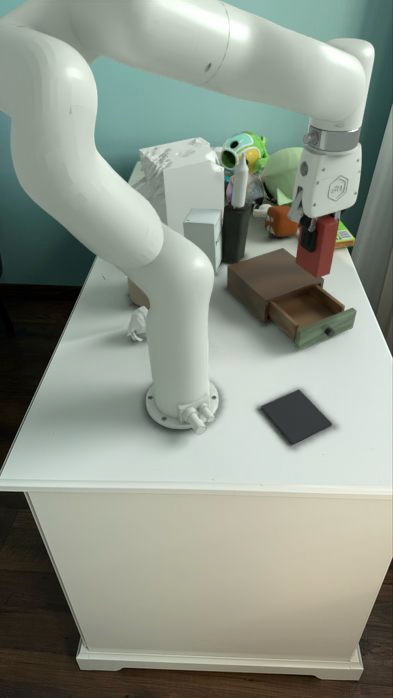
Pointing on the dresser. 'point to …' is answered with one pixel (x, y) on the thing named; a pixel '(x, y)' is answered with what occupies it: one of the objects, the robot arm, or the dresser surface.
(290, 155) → the toy
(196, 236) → the white packaging box
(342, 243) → the game box
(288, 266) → the cabinet
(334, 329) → the drawer
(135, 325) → the figurine
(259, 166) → the turtle holder
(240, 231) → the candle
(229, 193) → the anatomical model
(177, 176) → the tissue box
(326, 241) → the book
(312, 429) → the pad
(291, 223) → the toy
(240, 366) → the dresser surface
